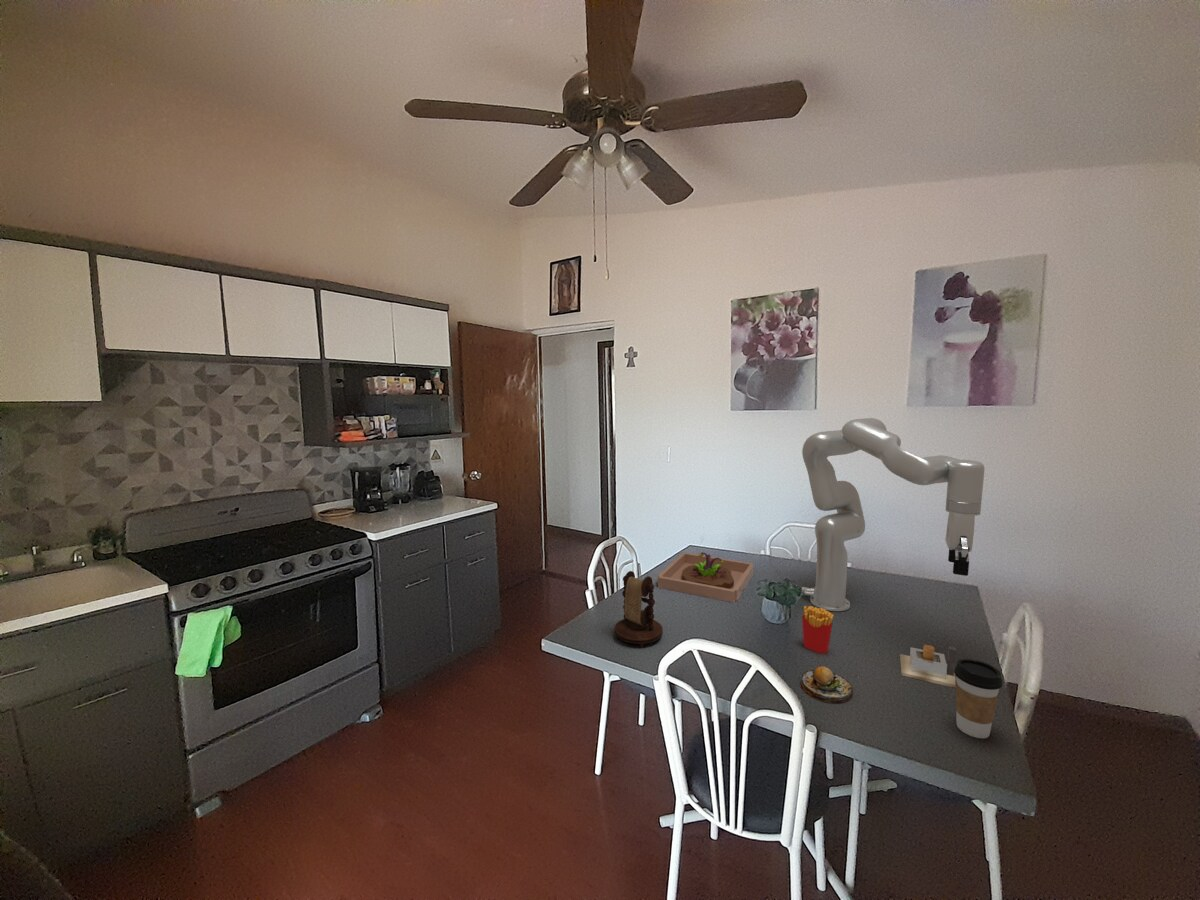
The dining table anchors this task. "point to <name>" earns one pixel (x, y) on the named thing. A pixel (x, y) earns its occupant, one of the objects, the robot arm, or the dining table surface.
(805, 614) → the french fries
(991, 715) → the coffee cup
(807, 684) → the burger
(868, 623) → the dining table surface
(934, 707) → the dining table surface
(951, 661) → the keeper
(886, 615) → the dining table surface
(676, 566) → the plant saucer
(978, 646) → the dining table surface
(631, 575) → the scroll
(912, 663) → the link
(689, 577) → the plant
